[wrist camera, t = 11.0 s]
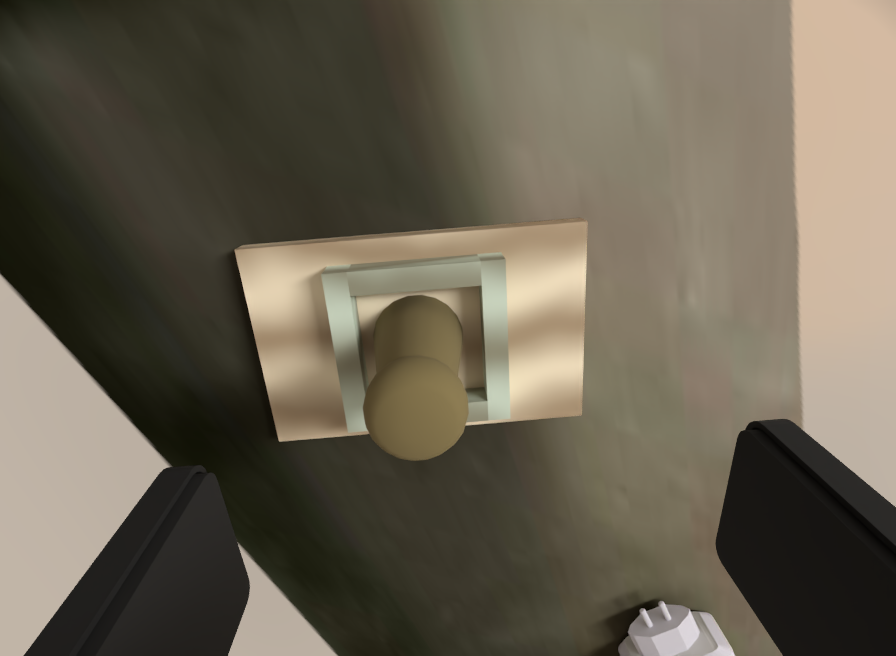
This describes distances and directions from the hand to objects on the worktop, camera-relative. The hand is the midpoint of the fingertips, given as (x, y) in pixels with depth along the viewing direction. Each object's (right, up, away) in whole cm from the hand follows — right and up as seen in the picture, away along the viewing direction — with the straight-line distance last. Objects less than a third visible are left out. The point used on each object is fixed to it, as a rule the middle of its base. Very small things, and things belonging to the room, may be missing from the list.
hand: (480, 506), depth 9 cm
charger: (+20, -26, +38) cm, 50 cm away
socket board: (-2, +3, +25) cm, 26 cm away
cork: (-3, +3, +24) cm, 24 cm away
